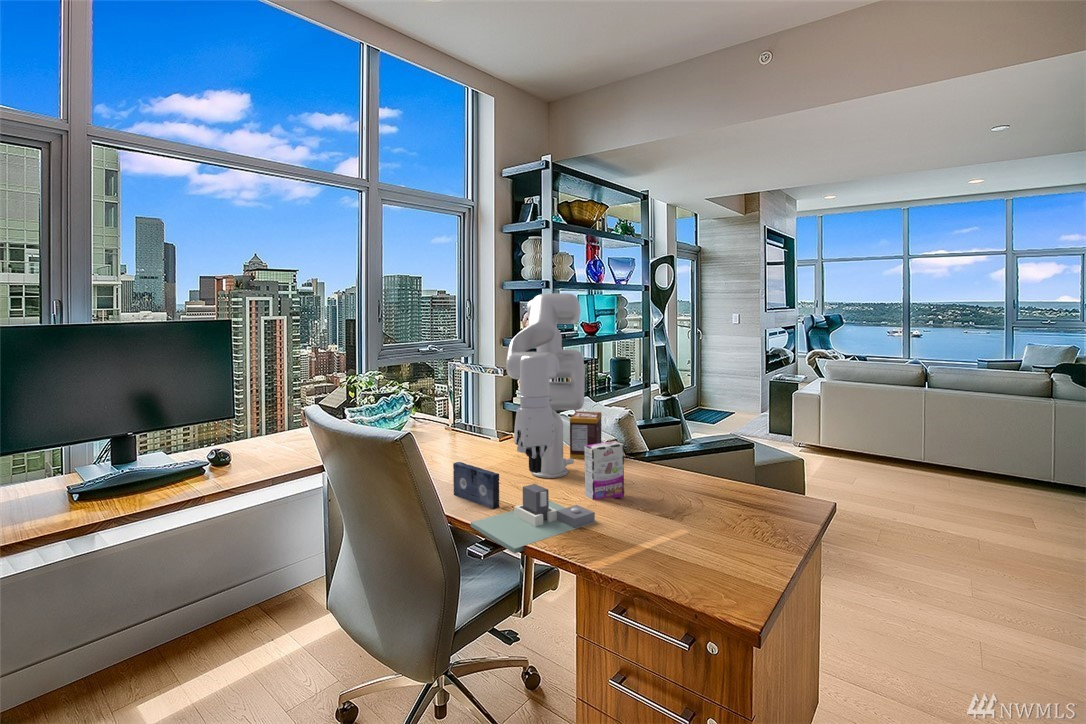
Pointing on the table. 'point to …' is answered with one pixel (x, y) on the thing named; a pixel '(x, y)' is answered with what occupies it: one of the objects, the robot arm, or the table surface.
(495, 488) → the vhs cassette tape
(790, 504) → the table surface
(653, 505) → the table surface
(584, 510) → the grey button box
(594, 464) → the candy bar box
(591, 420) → the supplement box
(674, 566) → the table surface
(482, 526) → the board
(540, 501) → the plug
